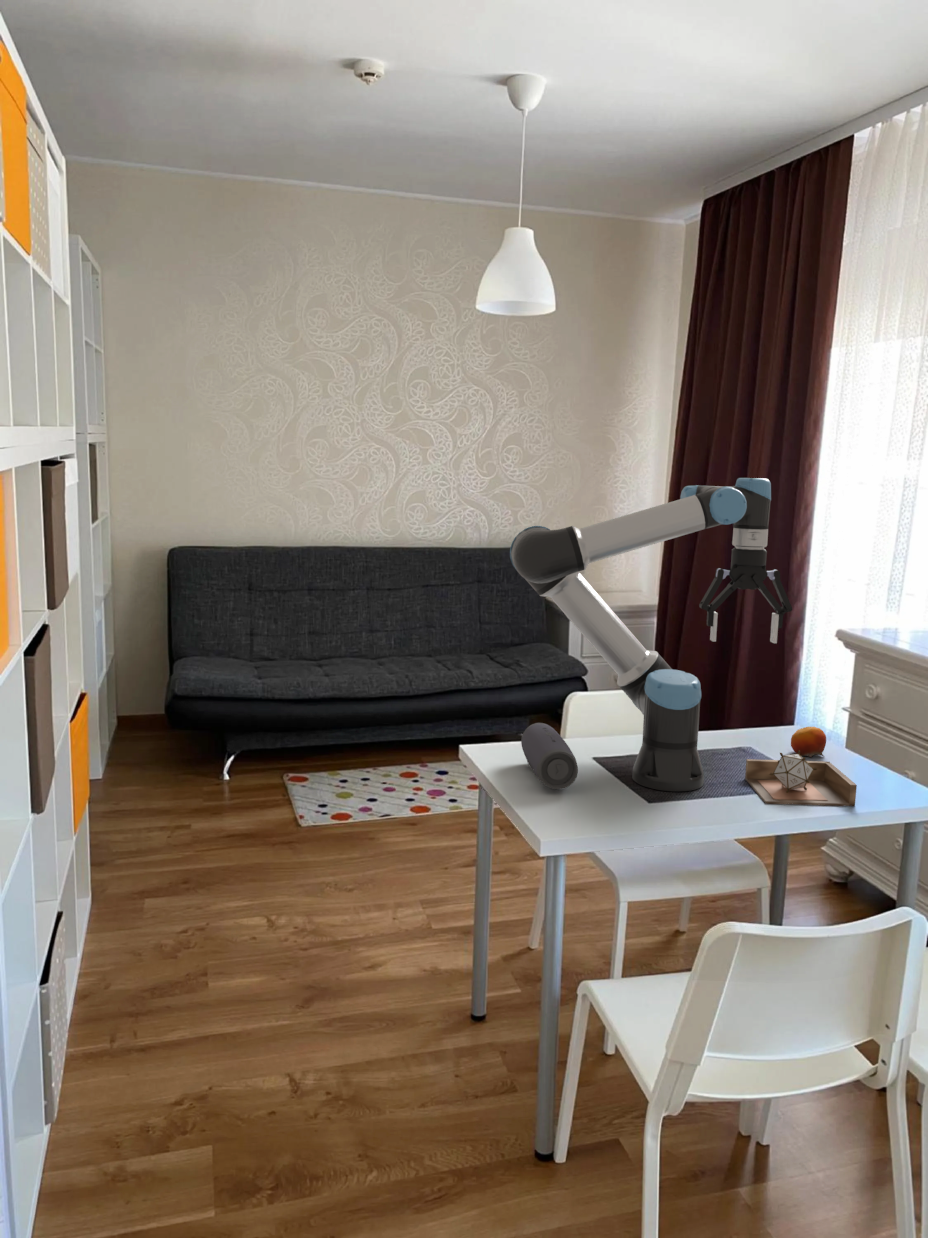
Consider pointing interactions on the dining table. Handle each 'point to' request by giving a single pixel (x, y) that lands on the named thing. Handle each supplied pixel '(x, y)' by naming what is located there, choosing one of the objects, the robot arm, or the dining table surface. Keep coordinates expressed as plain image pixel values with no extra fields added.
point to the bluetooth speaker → (549, 756)
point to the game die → (793, 771)
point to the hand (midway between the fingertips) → (743, 641)
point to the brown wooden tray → (822, 789)
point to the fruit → (809, 741)
